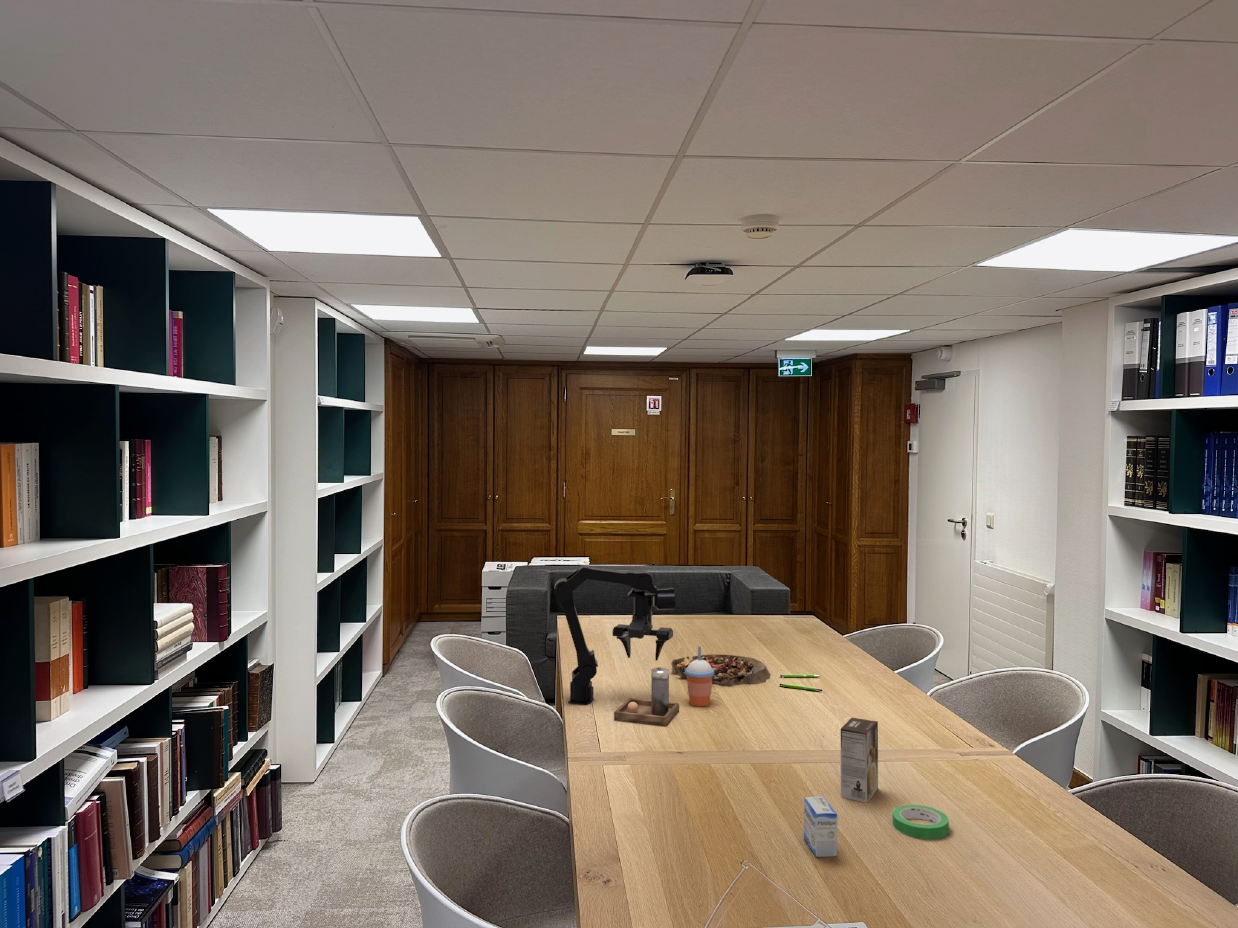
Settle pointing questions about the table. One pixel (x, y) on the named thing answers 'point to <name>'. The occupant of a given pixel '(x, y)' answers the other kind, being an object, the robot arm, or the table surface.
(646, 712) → the tray
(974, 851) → the table surface
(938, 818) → the tape roll
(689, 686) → the cup with straw
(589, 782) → the table surface
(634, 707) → the ball
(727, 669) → the food dish
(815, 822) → the medicine box
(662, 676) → the shaker
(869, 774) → the coffee box
